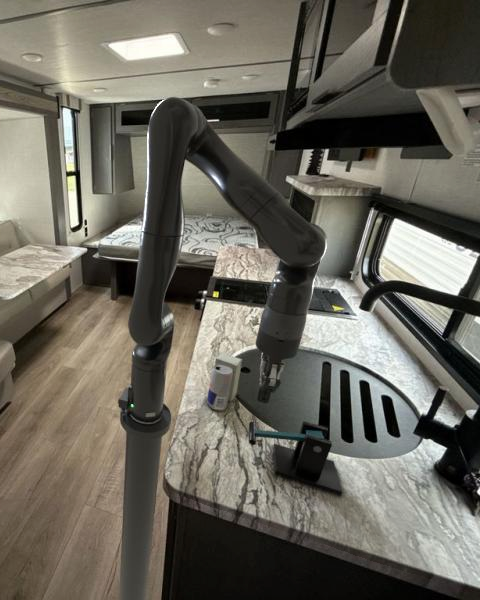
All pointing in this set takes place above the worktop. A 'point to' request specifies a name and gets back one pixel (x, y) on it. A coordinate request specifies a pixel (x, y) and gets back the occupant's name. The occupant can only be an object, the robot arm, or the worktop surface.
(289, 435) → the black and teal hammer
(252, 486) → the worktop surface
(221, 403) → the energy drink
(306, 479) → the black lever stand
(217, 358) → the cosmetic box
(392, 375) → the worktop surface
